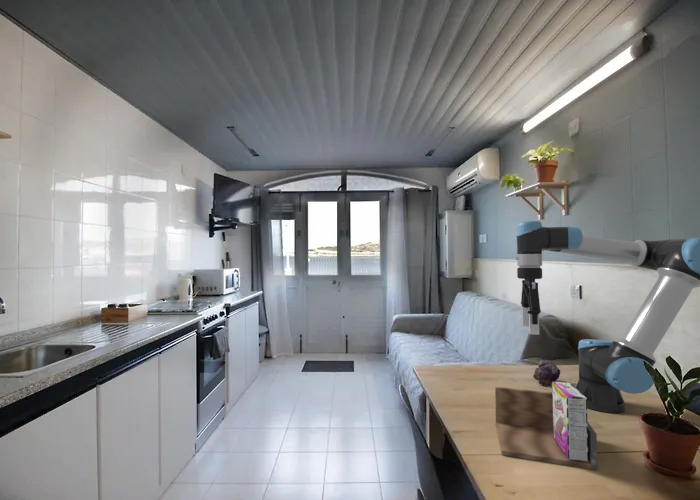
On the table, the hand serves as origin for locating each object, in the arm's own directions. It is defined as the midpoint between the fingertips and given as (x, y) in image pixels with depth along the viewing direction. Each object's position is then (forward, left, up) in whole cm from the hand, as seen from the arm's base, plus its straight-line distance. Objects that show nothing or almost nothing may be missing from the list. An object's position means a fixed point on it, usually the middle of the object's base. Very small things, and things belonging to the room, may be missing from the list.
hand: (530, 330), depth 118 cm
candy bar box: (-6, +22, -28) cm, 36 cm away
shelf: (+1, +19, -29) cm, 34 cm away
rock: (-12, -36, -29) cm, 48 cm away
